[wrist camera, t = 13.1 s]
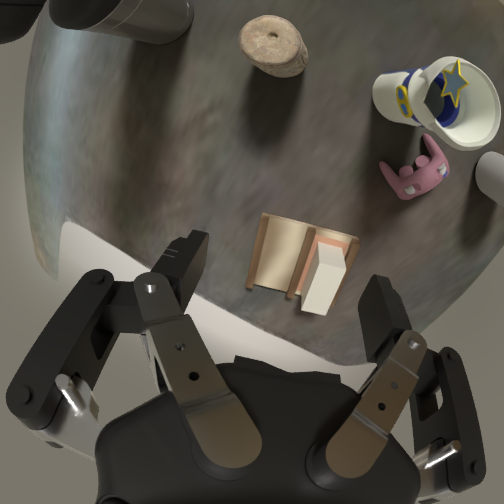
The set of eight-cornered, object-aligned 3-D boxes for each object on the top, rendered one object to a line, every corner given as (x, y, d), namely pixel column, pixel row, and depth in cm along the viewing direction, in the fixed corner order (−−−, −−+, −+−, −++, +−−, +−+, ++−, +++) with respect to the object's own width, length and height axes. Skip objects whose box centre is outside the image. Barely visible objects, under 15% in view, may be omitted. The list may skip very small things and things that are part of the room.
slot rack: (247, 278, 50) (245, 287, 48) (262, 212, 43) (260, 218, 41) (331, 298, 50) (332, 307, 48) (358, 237, 43) (360, 244, 41)
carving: (262, 29, 29) (246, 3, 19) (314, 48, 30) (320, 27, 20) (245, 67, 33) (223, 55, 22) (297, 86, 33) (295, 80, 23)
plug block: (317, 241, 43) (319, 262, 38) (341, 248, 43) (346, 269, 38) (302, 286, 48) (301, 310, 43) (324, 291, 48) (325, 315, 43)
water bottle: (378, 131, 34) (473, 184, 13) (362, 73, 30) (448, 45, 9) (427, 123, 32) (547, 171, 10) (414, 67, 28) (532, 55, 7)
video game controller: (384, 180, 39) (405, 211, 35) (374, 161, 36) (397, 193, 32) (432, 149, 35) (458, 177, 30) (425, 128, 32) (454, 156, 27)
